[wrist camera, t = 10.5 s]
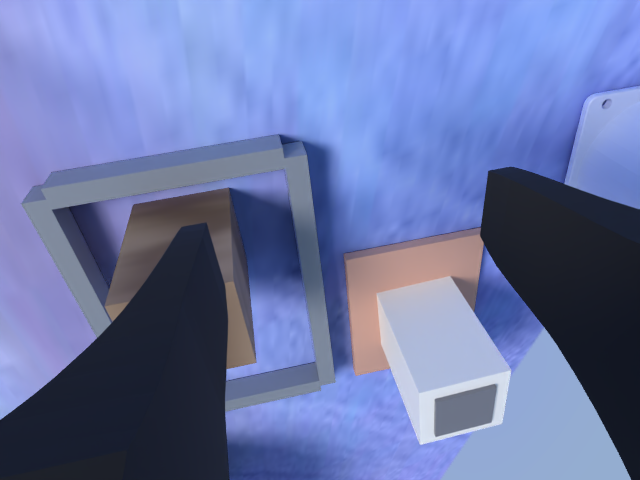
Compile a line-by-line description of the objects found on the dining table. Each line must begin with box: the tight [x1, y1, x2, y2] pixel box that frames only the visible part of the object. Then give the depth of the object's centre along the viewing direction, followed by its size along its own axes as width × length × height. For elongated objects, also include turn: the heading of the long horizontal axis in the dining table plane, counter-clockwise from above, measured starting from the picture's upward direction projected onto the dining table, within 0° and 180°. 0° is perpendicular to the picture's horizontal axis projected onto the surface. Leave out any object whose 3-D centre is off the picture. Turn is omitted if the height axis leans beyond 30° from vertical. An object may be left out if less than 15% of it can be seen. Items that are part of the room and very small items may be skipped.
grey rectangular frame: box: [21, 134, 335, 412], centre depth 25 cm, size 12×17×2 cm
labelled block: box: [377, 276, 511, 445], centre depth 25 cm, size 4×4×7 cm
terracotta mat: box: [344, 227, 484, 376], centre depth 29 cm, size 8×10×1 cm
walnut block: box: [104, 188, 256, 369], centre depth 20 cm, size 4×4×7 cm
